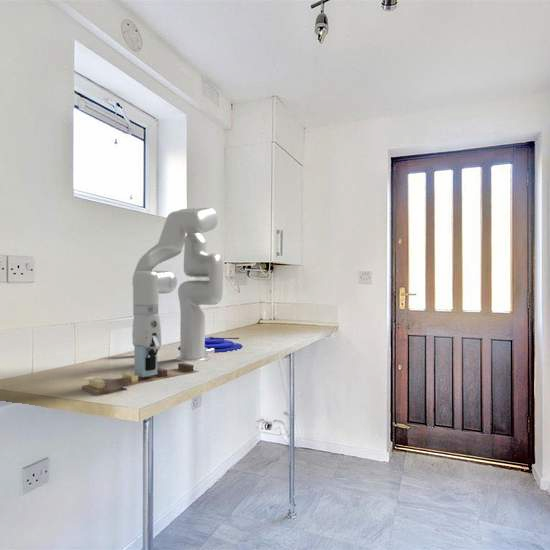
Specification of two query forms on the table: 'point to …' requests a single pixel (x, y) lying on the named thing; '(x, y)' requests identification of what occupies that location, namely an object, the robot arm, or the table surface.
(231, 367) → the table surface
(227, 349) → the coiled blue cable
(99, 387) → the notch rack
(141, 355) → the painted block
